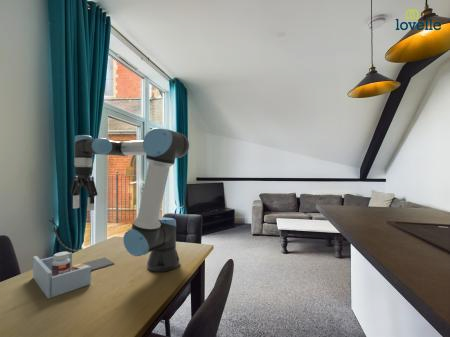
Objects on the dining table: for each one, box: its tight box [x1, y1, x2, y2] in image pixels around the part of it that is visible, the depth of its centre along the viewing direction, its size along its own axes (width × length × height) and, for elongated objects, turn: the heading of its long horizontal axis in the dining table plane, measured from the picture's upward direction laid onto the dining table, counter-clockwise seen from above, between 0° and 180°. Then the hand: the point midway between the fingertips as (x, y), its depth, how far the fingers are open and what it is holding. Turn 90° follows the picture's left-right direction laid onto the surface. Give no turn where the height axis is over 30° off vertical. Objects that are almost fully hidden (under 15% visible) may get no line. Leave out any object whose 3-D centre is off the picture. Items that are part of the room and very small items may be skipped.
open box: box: [32, 252, 92, 299], centre depth 95 cm, size 24×14×9 cm, turn 50°
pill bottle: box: [52, 251, 71, 277], centre depth 95 cm, size 6×6×11 cm
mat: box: [81, 257, 115, 272], centre depth 112 cm, size 11×11×1 cm
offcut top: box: [71, 263, 88, 271], centre depth 100 cm, size 6×4×2 cm, turn 65°
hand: (83, 209), depth 114 cm, fingers open, 13 cm apart
